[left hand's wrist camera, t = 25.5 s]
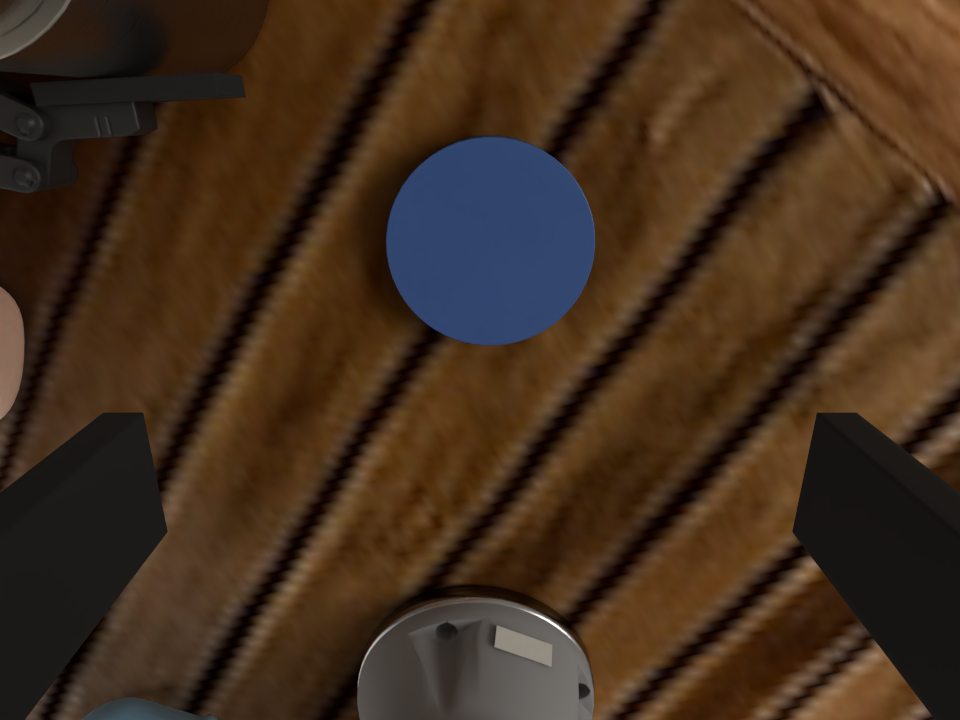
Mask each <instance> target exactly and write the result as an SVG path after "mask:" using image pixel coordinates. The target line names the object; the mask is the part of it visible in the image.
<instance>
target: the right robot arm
mask: <svg viewBox="0 0 960 720" xmlns="http://www.w3.org/2000/svg"><path fill="white" fill-rule="evenodd" d="M30 85H31V89H32V90H31V89H29V88H26V87H24V86H22V85H20V84H18V83H16V82H14V81H11V80H9V79H7V78H5V77H3V76H1V75H0V130H2V131H4V132H6V133H8V134H11V135H13V136H15V137H17V146H16V145H11V144H7V143H2V142H0V188H3V189H8V190H13V191H17V192H22V193H33V192H38V191H44V190H49V189H54V188H60V187H65V186H70V185H72V184H74V183H75V182H76V181H77V180H78V175H79V173H78V168H77V166H76V165H75V163H74V162H73V161H72V155H73V149H74V147H75V145H76V143H77V142H78V141H80V140H82V139H84V138H100V137H118V136H134V135H147V134H148V133H150V132H152V131H154V130H156V129H158V127H157V122H156V118H155V113H154V109H153V104H152V102H167V101H184V100H202V99H220V98H237V97H245V91H244V85H243V79H242V76H238V75H231V74H223V73H216V72H209V73H192V74H175V75H157V76H140V77H123V78H106V79H88V80H71V81H54V82H37V83H30Z"/></svg>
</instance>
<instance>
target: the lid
mask: <svg viewBox="0 0 960 720" xmlns="http://www.w3.org/2000/svg"><path fill="white" fill-rule="evenodd" d="M594 251H595V229H594V223H593V218H592V214H591V210H590V207H589V204H588V201H587V199H586V197H585V195H584V193H583V191H582V189H581V188H580V186H579V185H578V183H577V182H576V180H575V179H574V177H573V176H572V175H571V174H570V173H569V172H568V170H567V169H566V168H565V167H564V166H563V165H562V164H560V163H559V162H558V161H557V160H556V159H555V158H553V157H552V156H551V155H549V154H548V153H546V152H545V151H543V150H541V149H540V148H538V147H536V146H534V145H532V144H530V143H527V142H525V141H521V140H518V139H515V138H510V137H504V136H478V137H471V138H467V139H464V140H460V141H457V142H455V143H452V144H450V145H447V146H445V147H444V148H442V149H440V150H439V151H437V152H435V153H434V154H432V155H431V156H430V157H429V158H427V159H426V160H425V161H424V162H422V163H421V164H420V165H419V166H418V167H417V168H416V169H415V170H414V171H413V172H412V173H411V174H410V176H409V177H408V178H407V180H406V181H405V183H404V184H403V185H402V187H401V189H400V191H399V193H398V194H397V196H396V198H395V201H394V203H393V206H392V209H391V211H390V215H389V220H388V224H387V234H386V252H387V258H388V264H389V268H390V271H391V274H392V278H393V280H394V282H395V284H396V287H397V289H398V291H399V293H400V294H401V296H402V297H403V299H404V301H405V302H406V303H407V305H408V306H409V307H410V308H411V309H412V311H413V312H414V313H415V314H416V315H417V316H418V317H419V318H420V319H421V320H422V321H424V322H425V323H426V324H428V325H429V326H430V327H432V328H433V329H435V330H437V331H438V332H440V333H442V334H444V335H446V336H448V337H451V338H453V339H456V340H459V341H463V342H466V343H471V344H478V345H502V344H509V343H514V342H518V341H522V340H524V339H527V338H530V337H532V336H534V335H536V334H538V333H540V332H542V331H544V330H546V329H547V328H548V327H550V326H551V325H553V324H554V323H556V322H557V321H558V320H559V319H560V318H561V317H562V316H564V315H565V313H566V312H567V311H568V310H569V309H570V308H571V307H572V306H573V304H574V303H575V301H576V300H577V298H578V297H579V296H580V294H581V292H582V290H583V288H584V286H585V284H586V282H587V280H588V277H589V274H590V271H591V268H592V263H593V259H594Z"/></svg>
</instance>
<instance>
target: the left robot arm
mask: <svg viewBox="0 0 960 720" xmlns="http://www.w3.org/2000/svg"><path fill="white" fill-rule="evenodd" d="M166 533H167V527H166V522H165V517H164V512H163V507H162V503H161V498H160V493H159V488H158V483H157V478H156V474H155V469H154V464H153V459H152V454H151V449H150V445H149V440H148V435H147V430H146V425H145V420H144V416H143V413H103V414H101V415H100V416H99V417H98V418H96V419H95V420H94V421H92V422H91V423H90V424H88V425H87V426H86V427H85V428H83V429H82V430H81V431H79V432H78V433H77V434H76V435H74V436H73V437H72V438H70V439H69V440H68V441H67V442H65V443H64V444H63V445H61V446H60V447H59V448H58V449H56V450H55V451H54V452H52V453H51V454H50V455H49V456H47V457H46V458H45V459H43V460H42V461H41V462H40V463H38V464H37V465H36V466H34V467H33V468H32V469H30V470H29V471H28V472H27V473H25V474H24V475H23V476H21V477H20V478H19V479H18V480H16V481H15V482H14V483H12V484H11V485H10V486H9V487H7V488H6V489H5V490H3V491H2V492H1V493H0V720H25V719H26V717H27V716H28V715H29V713H30V712H31V711H32V709H33V708H34V707H35V705H36V704H37V703H38V701H39V700H40V699H41V698H42V696H43V695H44V694H45V692H46V691H47V690H48V688H49V687H50V686H51V684H52V683H53V682H54V680H55V679H56V678H57V676H58V675H59V674H60V673H61V671H62V670H63V669H64V667H65V666H66V665H67V663H68V662H69V661H70V659H71V658H72V657H73V655H74V654H75V653H76V652H77V650H78V649H79V648H80V646H81V645H82V644H83V642H84V641H85V640H86V638H87V637H88V636H89V634H90V633H91V632H92V630H93V629H94V628H95V627H96V625H97V624H98V623H99V621H100V620H101V619H102V617H103V616H104V615H105V613H106V612H107V611H108V609H109V608H110V607H111V605H112V604H113V603H114V602H115V600H116V599H117V598H118V596H119V595H120V594H121V592H122V591H123V590H124V588H125V587H126V586H127V584H128V583H129V582H130V580H131V579H132V578H133V577H134V575H135V574H136V573H137V571H138V570H139V569H140V567H141V566H142V565H143V563H144V562H145V561H146V559H147V558H148V557H149V555H150V554H151V553H152V552H153V550H154V549H155V548H156V546H157V545H158V544H159V542H160V541H161V540H162V538H163V537H164V536H165V534H166ZM793 533H794V534H795V536H796V537H797V538H798V540H799V541H800V542H801V544H802V545H803V546H804V548H805V549H806V550H807V552H808V553H809V554H810V555H811V557H812V558H813V559H814V561H815V562H816V563H817V565H818V566H819V567H820V569H821V570H822V571H823V573H824V574H825V575H826V577H827V578H828V579H829V580H830V582H831V583H832V584H833V586H834V587H835V588H836V590H837V591H838V592H839V594H840V595H841V596H842V598H843V599H844V600H845V602H846V603H847V604H848V605H849V607H850V608H851V609H852V611H853V612H854V613H855V615H856V616H857V617H858V619H859V620H860V621H861V623H862V624H863V625H864V627H865V628H866V629H867V630H868V632H869V633H870V634H871V636H872V637H873V638H874V640H875V641H876V642H877V644H878V645H879V646H880V648H881V649H882V650H883V652H884V653H885V654H886V655H887V657H888V658H889V659H890V661H891V662H892V663H893V665H894V666H895V667H896V669H897V670H898V671H899V673H900V674H901V675H902V676H903V678H904V679H905V680H906V682H907V683H908V684H909V686H910V687H911V688H912V690H913V691H914V692H915V694H916V695H917V696H918V698H919V699H920V700H921V701H922V703H923V704H924V705H925V707H926V708H927V709H928V711H929V712H930V713H931V715H932V716H933V717H934V719H935V720H960V493H959V492H958V491H957V490H955V489H954V488H953V487H951V486H950V485H949V484H948V483H946V482H945V481H944V480H942V479H941V478H940V477H939V476H937V475H936V474H935V473H933V472H932V471H931V470H930V469H928V468H927V467H926V466H924V465H923V464H922V463H920V462H919V461H918V460H917V459H915V458H914V457H913V456H911V455H910V454H909V453H908V452H906V451H905V450H904V449H902V448H901V447H900V446H899V445H897V444H896V443H895V442H893V441H892V440H891V439H890V438H888V437H887V436H886V435H884V434H883V433H882V432H881V431H879V430H878V429H877V428H875V427H874V426H873V425H871V424H870V423H869V422H868V421H866V420H865V419H864V418H862V417H861V416H860V415H859V414H857V413H817V416H816V420H815V425H814V430H813V435H812V440H811V445H810V449H809V454H808V459H807V464H806V469H805V474H804V478H803V483H802V488H801V493H800V498H799V503H798V507H797V512H796V517H795V522H794V527H793ZM357 702H358V711H359V717H360V720H592V715H593V708H594V682H593V676H592V671H591V666H590V660H589V656H588V653H587V650H586V647H585V645H584V643H583V641H582V639H581V638H580V636H579V635H578V633H577V632H576V630H575V629H574V628H573V627H572V625H571V624H570V623H569V622H568V621H567V620H566V619H565V618H564V617H562V616H561V615H560V614H559V613H557V612H556V611H555V610H553V609H552V608H550V607H549V606H547V605H545V604H543V603H542V602H540V601H538V600H536V599H533V598H531V597H529V596H526V595H523V594H520V593H517V592H513V591H509V590H505V589H499V588H493V587H457V588H450V589H444V590H440V591H436V592H432V593H430V594H427V595H424V596H421V597H419V598H417V599H414V600H412V601H410V602H408V603H407V604H405V605H403V606H401V607H400V608H398V609H397V610H396V611H394V612H393V613H392V614H390V615H389V616H388V617H387V618H386V619H385V620H384V621H383V622H382V623H381V624H380V625H379V626H378V628H377V629H376V630H375V632H374V633H373V635H372V636H371V638H370V640H369V642H368V644H367V646H366V648H365V652H364V655H363V659H362V663H361V668H360V672H359V678H358V695H357ZM81 720H218V718H217V717H215V716H212V715H211V714H209V715H205V716H203V717H201V716H197V715H194V714H191V713H188V712H184V711H181V710H178V709H175V708H172V707H168V706H165V705H162V704H159V703H155V702H152V701H149V700H146V699H142V698H136V697H125V698H120V699H115V700H112V701H110V702H107V703H105V704H103V705H101V706H99V707H97V708H96V709H94V710H93V711H91V712H90V713H88V714H87V715H86V716H85V717H84V718H82V719H81Z"/></svg>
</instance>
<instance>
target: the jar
mask: <svg viewBox="0 0 960 720" xmlns="http://www.w3.org/2000/svg"><path fill="white" fill-rule="evenodd" d="M267 4H268V0H0V71H5V72H17V73H30V74H43V75H56V76H69V77H82V78H95V79H106V78H123V77H140V76H157V75H175V74H192V73H209V72H216V73H224V72H226V71H228V70H229V69H230V68H232V67H233V66H234V65H235V64H237V63H238V62H239V61H240V60H241V59H242V57H243V56H244V55H245V54H246V53H247V52H248V50H249V49H250V47H251V46H252V44H253V43H254V41H255V39H256V37H257V35H258V33H259V31H260V29H261V26H262V23H263V20H264V18H265V14H266V9H267Z"/></svg>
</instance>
